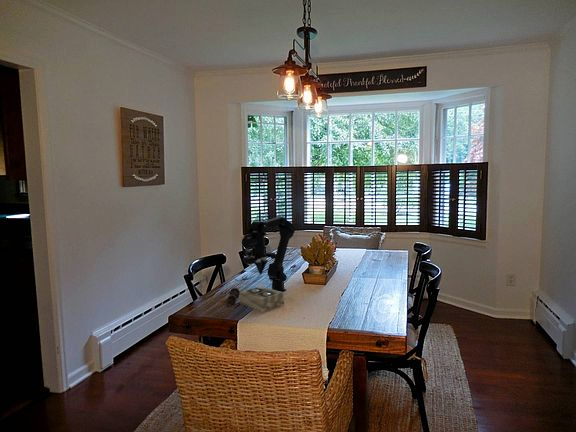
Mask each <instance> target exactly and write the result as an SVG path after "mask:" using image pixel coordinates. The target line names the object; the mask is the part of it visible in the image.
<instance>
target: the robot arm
mask: <svg viewBox="0 0 576 432" xmlns="http://www.w3.org/2000/svg"><path fill="white" fill-rule="evenodd" d="M276 226H277V229H279V230H278V231H279V232H278V233H279V236H280V238H279V242H278V246H277V250H276V252H273V251H267V252H266V249H267V246H265V243H266V242H265V237H266V236H267V233H266V231H268V229H270V228H272V227H276ZM295 232H296V227H295V225H294V224H293V223H292V222H291V221H289V220H288V219H286V218H285V216H276V217H273V218H270V219H267V220H253V221H251V224H250V225H249V228H248V231H247V234H244V235H243V236H244V237H242V239H241V245H242V247H243V248H244V249H245V250H244V255H245V256H246V257H243V259H242V263H243V264H247V265H253V264H254V265H255V266H256V269H257V270H258V274H260V275H262V274H263V272H264V269H265V267H266V265H267V263H268V262H269V260H268V258H271V259H272V260H273V261H272V263H269V265H268V268H267V275H268V279H269V280H270V281H271V289H272V290H276V291H280V292H285V291H287V289H286V288H285V281H287V279H288V278H287V277H288V275H287V274H286V273H285V269H284V265H283V264H284V261H285V260H284V259H285V256H286V252H287V249H288V245H289V242H290V239H291V238H293V237H294V235H295ZM249 248H251V250H250V249H249Z"/></svg>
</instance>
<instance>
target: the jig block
mask: <svg viewBox="0 0 576 432" xmlns="http://www.w3.org/2000/svg"><path fill="white" fill-rule="evenodd" d="M253 289H259V291H257V292H252V290H253ZM265 292H270V293H271V294H270V295H267V296H266V295H263V293H265ZM238 297H239V304H240V305H242V306H245V307H249V308H252V309H255V310H257V311H260V312H261V311H262V312H264V311H267V310H271V309H274V308H276V307H280V306H282V305H284V304H285V303H284V301H285V299H284V291H282V292H280V291H276V290H272V288H269V287H264V286H260V285H259V286H256V287H253V288H250V289H247V290H242V291H240V292H239V296H238ZM281 304H282V305H281ZM273 307H274V308H273Z"/></svg>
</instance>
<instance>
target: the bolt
mask: <svg viewBox="0 0 576 432" xmlns="http://www.w3.org/2000/svg"><path fill="white" fill-rule="evenodd" d="M239 292H241V291H240V289H239V288H237V287H232V288H231V290H230V292H228V293H229V295H228V297H227V299H226V301H227V304H228V305H229V306H230V305H231V306H232V305H233V304H235V303H236V301H237V298H239V297H240V296H239Z"/></svg>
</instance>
